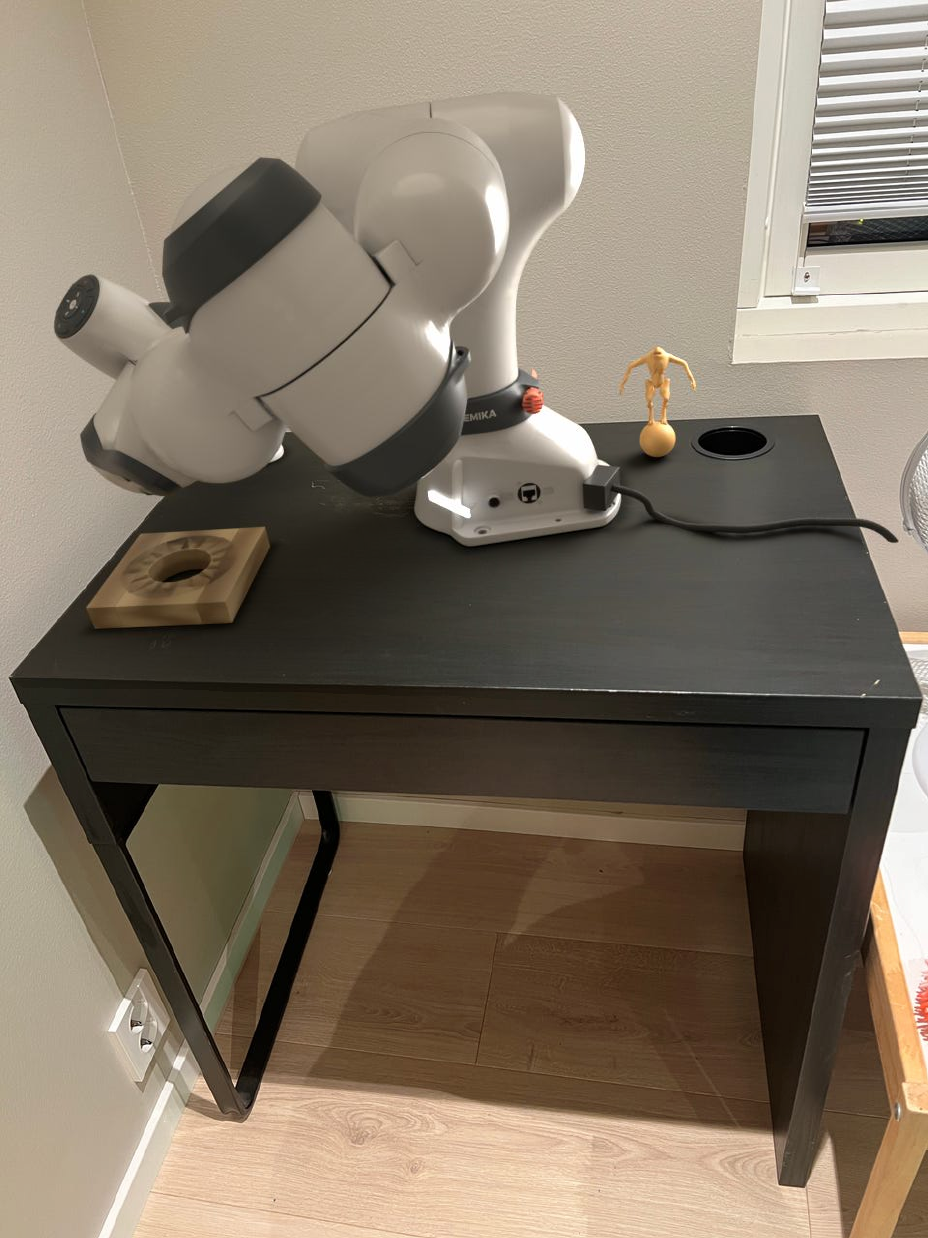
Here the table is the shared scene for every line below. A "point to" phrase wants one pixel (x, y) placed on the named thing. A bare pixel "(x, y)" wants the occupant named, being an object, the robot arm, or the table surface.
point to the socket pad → (192, 601)
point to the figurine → (659, 434)
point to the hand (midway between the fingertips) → (258, 419)
